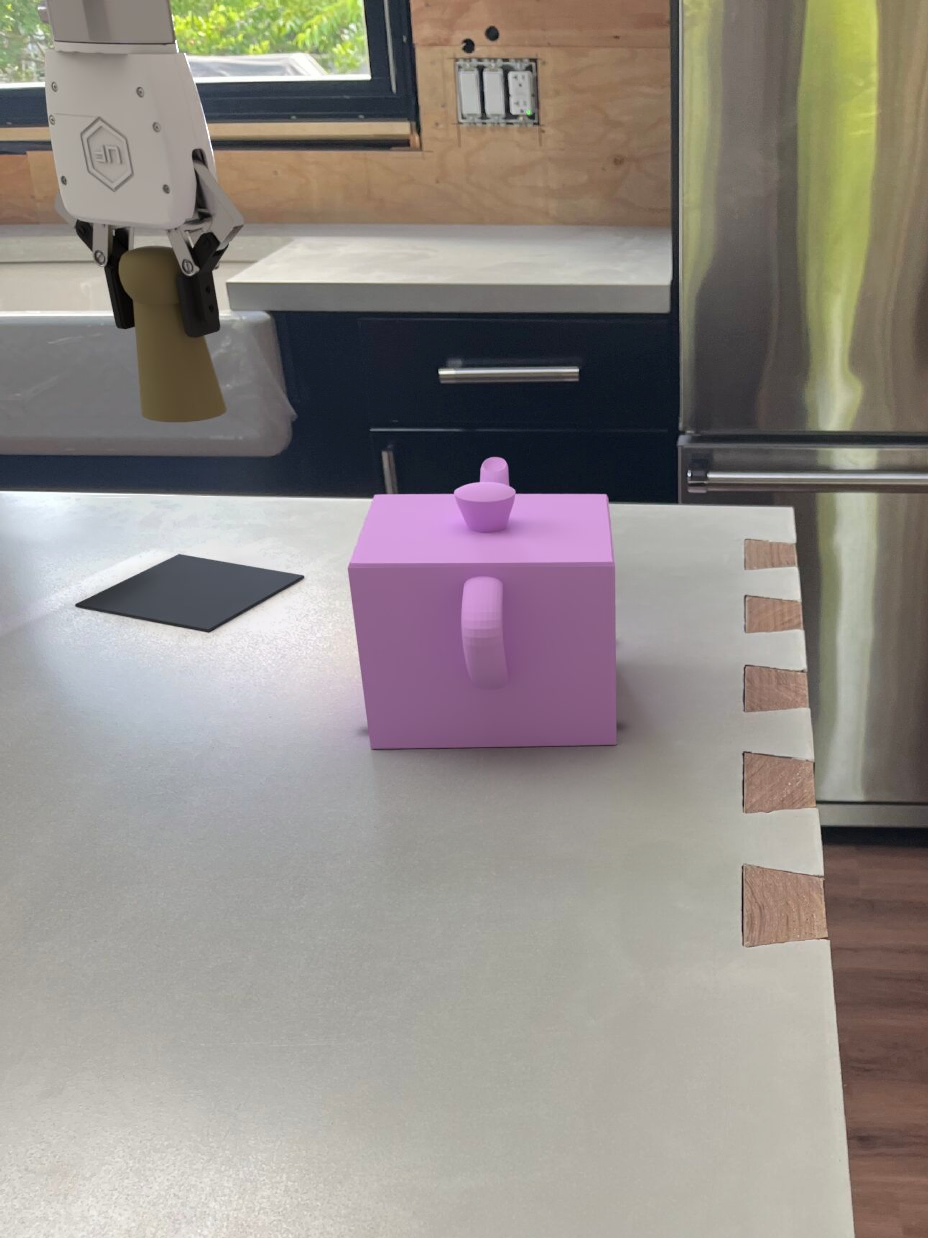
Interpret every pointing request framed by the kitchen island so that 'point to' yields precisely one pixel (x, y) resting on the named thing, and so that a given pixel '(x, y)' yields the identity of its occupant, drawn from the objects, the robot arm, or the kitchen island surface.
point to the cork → (167, 342)
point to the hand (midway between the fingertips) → (168, 327)
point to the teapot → (486, 617)
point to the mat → (191, 592)
